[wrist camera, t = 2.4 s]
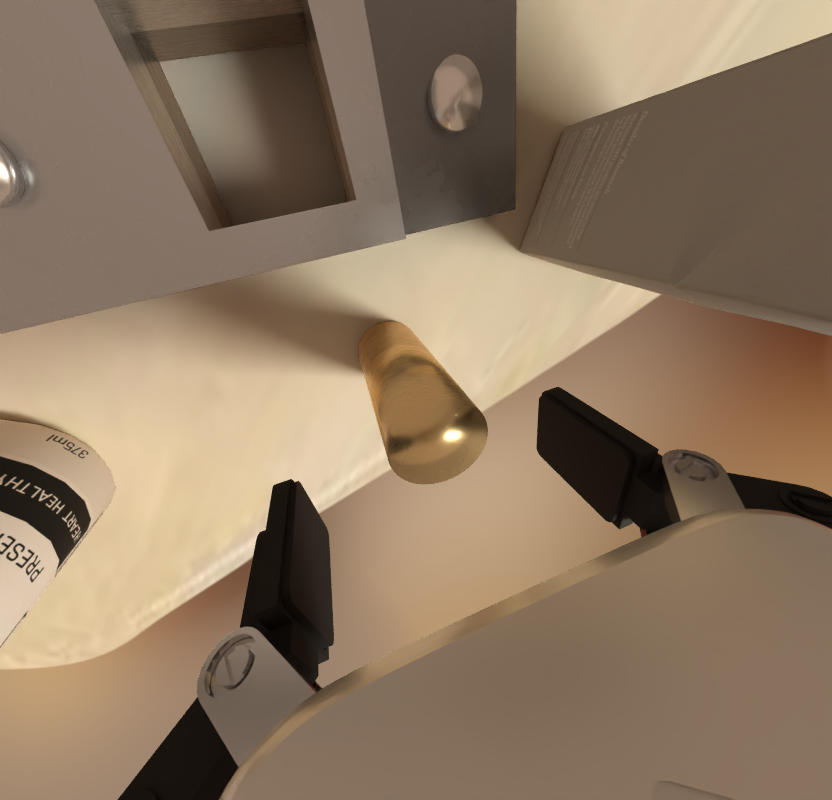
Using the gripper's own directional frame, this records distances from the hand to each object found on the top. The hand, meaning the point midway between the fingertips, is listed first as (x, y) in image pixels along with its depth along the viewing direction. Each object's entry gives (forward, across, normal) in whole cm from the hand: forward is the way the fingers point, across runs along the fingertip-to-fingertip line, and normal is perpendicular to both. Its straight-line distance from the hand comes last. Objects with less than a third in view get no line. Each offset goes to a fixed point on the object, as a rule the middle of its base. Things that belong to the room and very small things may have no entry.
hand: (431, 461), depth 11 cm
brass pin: (+10, -1, 0) cm, 10 cm away
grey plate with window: (+10, +2, -12) cm, 16 cm away
